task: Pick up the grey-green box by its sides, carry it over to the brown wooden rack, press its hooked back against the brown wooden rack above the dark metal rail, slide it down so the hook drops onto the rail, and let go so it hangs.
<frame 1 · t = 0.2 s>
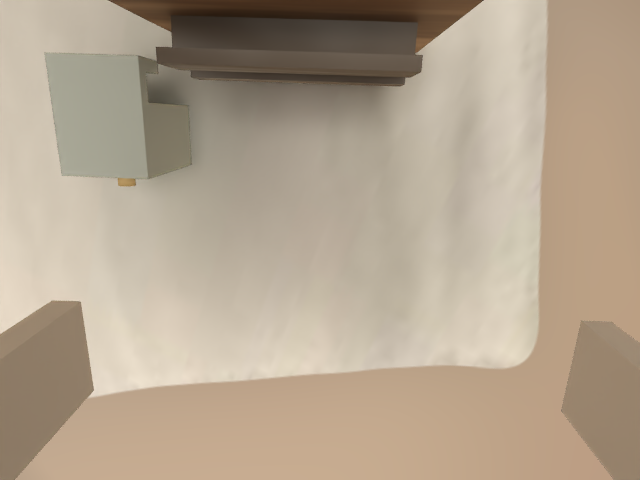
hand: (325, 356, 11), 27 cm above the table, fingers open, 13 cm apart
grey-green box: (156, 134, 37), on the table
brown wooden rack: (306, 38, 34), on the table
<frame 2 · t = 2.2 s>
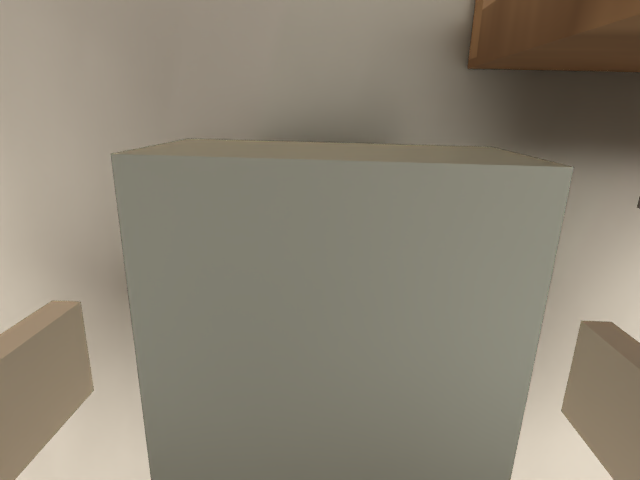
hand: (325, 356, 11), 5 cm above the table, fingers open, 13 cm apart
grey-green box: (333, 276, 16), on the table
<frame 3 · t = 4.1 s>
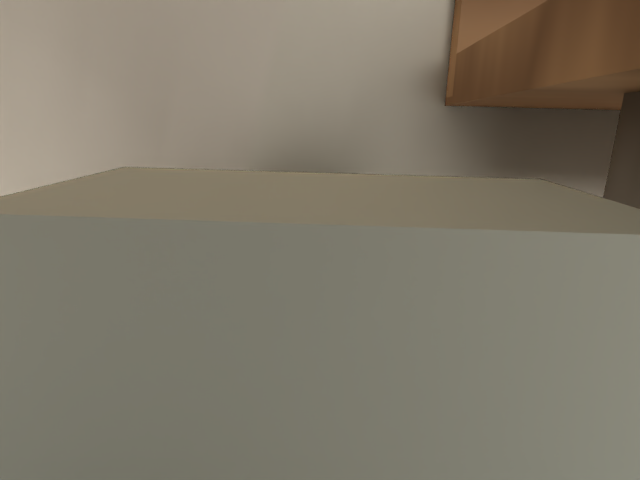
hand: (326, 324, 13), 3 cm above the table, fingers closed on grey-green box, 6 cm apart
grey-green box: (326, 316, 13), point 3 cm above the table, touching gripper
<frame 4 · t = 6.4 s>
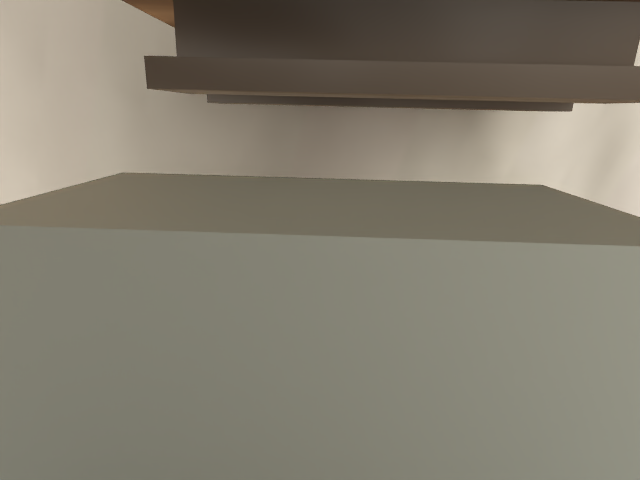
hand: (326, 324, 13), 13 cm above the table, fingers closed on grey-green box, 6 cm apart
grey-green box: (326, 319, 13), point 13 cm above the table, touching gripper
brown wooden rack: (375, 34, 23), on the table
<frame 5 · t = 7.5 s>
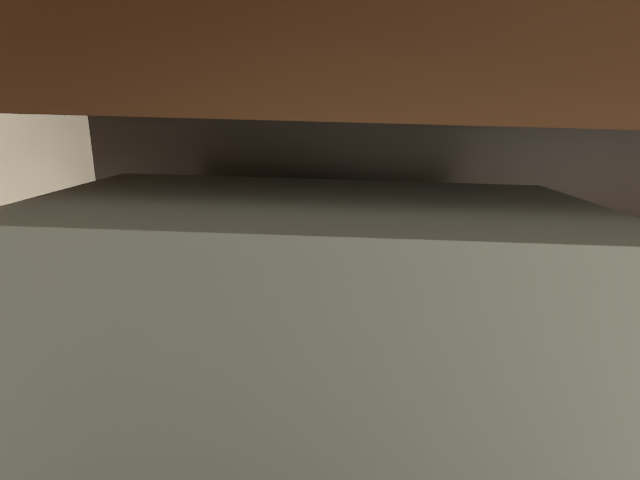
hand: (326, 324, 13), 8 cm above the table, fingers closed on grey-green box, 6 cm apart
grey-green box: (326, 319, 13), point 8 cm above the table, touching gripper
brown wooden rack: (378, 104, 19), on the table
when the fingers open (5 cm above the table, at t = 8.8 s): grey-green box stays where it is, resting on brown wooden rack.
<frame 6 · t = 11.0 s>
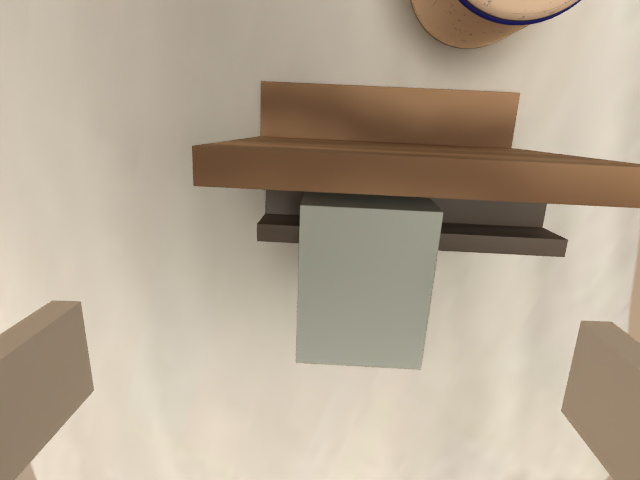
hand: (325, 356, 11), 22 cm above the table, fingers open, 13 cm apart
grey-green box: (353, 251, 28), point 5 cm above the table, touching brown wooden rack
brown wooden rack: (383, 152, 31), on the table
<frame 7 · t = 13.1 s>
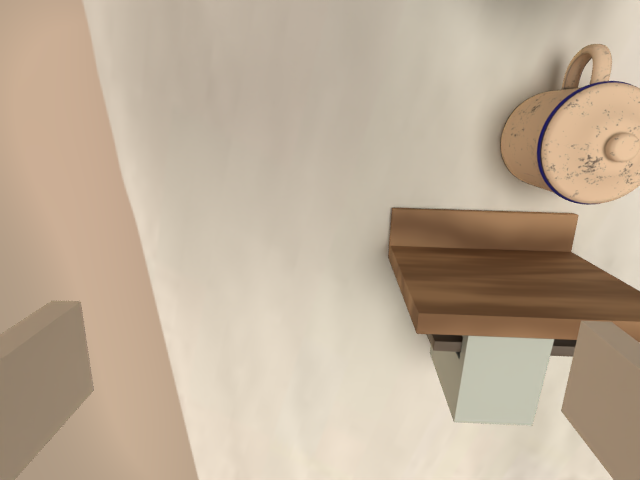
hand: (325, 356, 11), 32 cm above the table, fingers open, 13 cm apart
grey-green box: (464, 331, 40), point 5 cm above the table, touching brown wooden rack
brown wooden rack: (476, 253, 43), on the table
teacup with lid: (547, 123, 40), on the table
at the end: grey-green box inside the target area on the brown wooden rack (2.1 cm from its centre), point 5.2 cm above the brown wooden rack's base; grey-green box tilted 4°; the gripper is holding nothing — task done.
